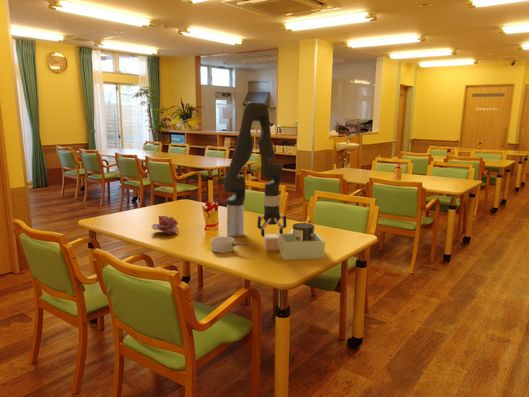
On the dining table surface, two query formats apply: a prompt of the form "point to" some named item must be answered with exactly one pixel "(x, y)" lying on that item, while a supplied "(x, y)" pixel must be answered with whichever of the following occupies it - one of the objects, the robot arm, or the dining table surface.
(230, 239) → the saucepan
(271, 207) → the robot arm
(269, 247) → the pink block
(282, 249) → the tote
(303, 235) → the coffee can
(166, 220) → the flower
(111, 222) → the dining table surface
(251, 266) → the dining table surface
